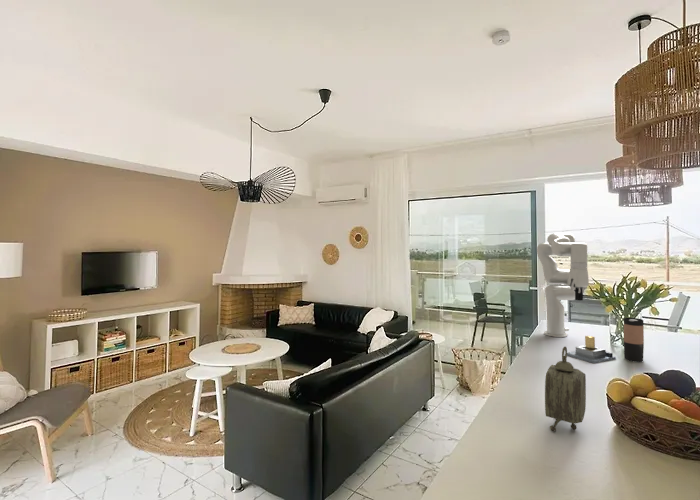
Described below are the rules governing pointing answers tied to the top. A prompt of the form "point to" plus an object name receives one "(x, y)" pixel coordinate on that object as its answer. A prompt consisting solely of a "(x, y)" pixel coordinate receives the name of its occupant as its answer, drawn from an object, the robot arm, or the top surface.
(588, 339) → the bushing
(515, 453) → the top surface
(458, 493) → the top surface
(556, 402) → the rustic cowbell
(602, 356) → the jig
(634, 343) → the travel mug
